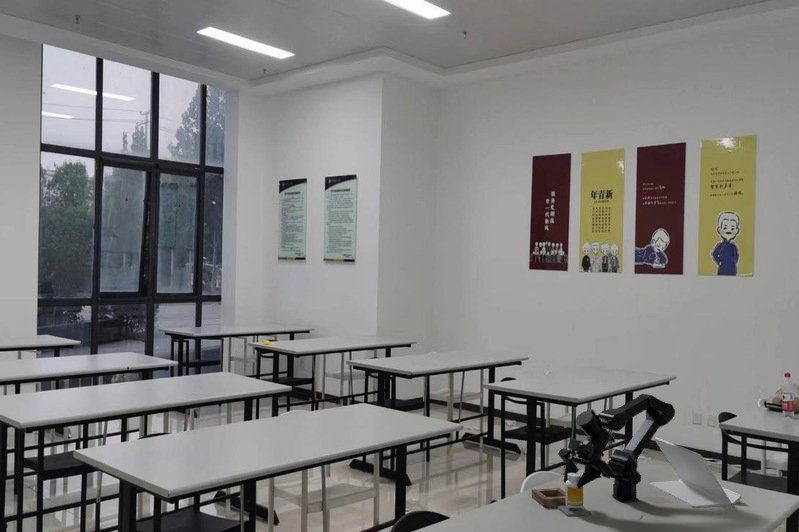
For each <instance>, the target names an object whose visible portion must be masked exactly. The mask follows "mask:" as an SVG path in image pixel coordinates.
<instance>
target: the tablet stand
mask: <svg viewBox="0 0 799 532" xmlns="http://www.w3.org/2000/svg"><path fill="white" fill-rule="evenodd" d="M654 441H655V442H656V443H655V444H657V446H658V447H659V449H660V451H661V452H662V454H663V455H664V457H665V458H666V459H667V461H668V462H669V464H670V466H671V467H672V469H673V470H674V471H675V473H676V474H677V477H678V480H669V481H668V480H667V481H656V482H654V481H651V482H649V485H650V486H651V487H653V488H655V489H657V490H659V491H660V492H663V493H665V494H667V495H668V496H670V497H673V498H674V499H677V500H678V501H680V502H682V503H684V504H686V505H687V506H690V507H691V508H694V509H697V508H707V507H708V508H710V507H720V506H721V507H723V506H724V507H725V506H734V505H733V504H735V505H736V504H737V503H738V502H740V501H741V500H742V498H743V497H742V496H741V495H740V494H739V493H737V492H734V491H732V490H730V489H728V488H726V487H724V486H722V485H721V484H720V482H719V481H718V479H717V477H716V476H715V474H714V473H713V471H712V469H711V468H710V467H709V465H708V463H707V461H705V459H704V457H703V455H702V454H700V453H698V452H695V451H692V450H690V449H688V448H685V447H683V446H681V445H678V444H675V443H673V442H671V441H667V440H665V439H662V438H660V437H657V436H656V437H655V438H654ZM731 504H732V505H731Z"/></svg>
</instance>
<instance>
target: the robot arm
mask: <svg viewBox="0 0 799 532" xmlns="http://www.w3.org/2000/svg"><path fill="white" fill-rule="evenodd" d="M643 412H645V419H644V421H643V423H642V424H641V425H640V427H639V428H638V429H637V430H636V433H635V434H634V435H633V436H632V438H631V439H630V441H629V442H628V443H627V445H626V446H625V447H624V448H623V449H617V448H616V449H615V450H613V452H612V454H611V456H609V457H608V458H609V460H608V461H607V462H606V461H605V460H603V459H600V457H602V458H603V457H604V456H605V453H604V450H605V449H606V447H607V446H608V444H609V442H610V443H615V440H616V439H615V437H614V435H615V434H614V433H612V431H613V432H620V431H621V430H622V429H624V428H625V426H626V425H627V422H628V421H629V420H631V419H633V418H634V417H636V416H637V415H639V414H640V413H643ZM675 415H676V410H675V407H674V405H673V404H672V403H669V402H665V401H663V400H661V399H659V398H657V397H656V396H654V395H652V394H646V393H641V394H639V395H638V396H637V397H636V398H634V399H632V400H630V401H628V402H626V403H624V404H623V405H621V406H620V407H619V406H618V407H615V408H608V409H605V410H601V412H600V413H599V414H597V413H596V412H595V410H594V409H593V408H592V409H591V408H587V409H586V410H585V411H582V412H581V413H580V414H577V416H576V419H575V422H576V424H577V425H578V427H580V428H579V429H581V430H582V431H583V432H584V434H585V435H587V436H589V437H588V439H584V440H579V439H575V438H572V437H571V438H570V439H569V442H568V447H567V448H560V449H559V451H558V453H557V455H558V456H559V458H560V459H561V460H562V461H563V462H564V463H565V472H564V478H563V483H566V481H567V480H568V473H578V472H579V471H580V469H579V468H578V467H577V465H578V464H579V465H583V466H584V472H582V474H581V478H580V480H579V481H578V484H577V487H578V488H580V487H582V486H583V487H584V486H586V485H587V484H589V483H591V482H592V481H594V480H597V479H601V478H602V477H603V478H606V479H614V483H613V484H612V489H613V490H612V494H611V496H612V497H613V498H614V499H616V500H618V502H621V503H629V502H631V503H632V502H640V499H639V498H637V485H638V483H639V484H640V483H641V481H642V480H641V479H642V475H641V473H640V472H639V471H638V470H637V469H638V464H639V463H638V459H639V457H640V456H641V454H642V453H643V451H644V450H645V449H646V447H647V446H648V445H649V443H650V442H651V440H652V439H653V437H654V436H655V434H656V433H657V431H658V430H659V429H660V428H661V427H664V426H665V425H668V424H669V423H670V422H672V420H673V419H674V417H675ZM609 431H611V432H609ZM570 449H571V450H570ZM572 450H573V451H574V452H573V451H572ZM576 455H577V456H576Z"/></svg>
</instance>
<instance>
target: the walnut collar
mask: <svg viewBox="0 0 799 532" xmlns="http://www.w3.org/2000/svg"><path fill="white" fill-rule="evenodd" d="M531 498H532V499H533V500H534V501H536V502H537V503H538V504H539V505H541V507H542V508H553V506H555V507H557V506H559V505H566V500H565V490H563V488H560V487H554V488H537V489H535V488H534V489H533V488H532V489H531Z"/></svg>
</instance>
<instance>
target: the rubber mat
mask: <svg viewBox="0 0 799 532" xmlns="http://www.w3.org/2000/svg"><path fill="white" fill-rule="evenodd" d="M556 508H557V509H558V511H560V512H561V513H563V514H564V515H566V517H577V516H579V515H580V516H591V515H593V514H592V513H593V512H591V511H590V510H589V509H587V508H586V507H585V506H583V507H581V508H571V507H568V506H566V505H559V506H556Z"/></svg>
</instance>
